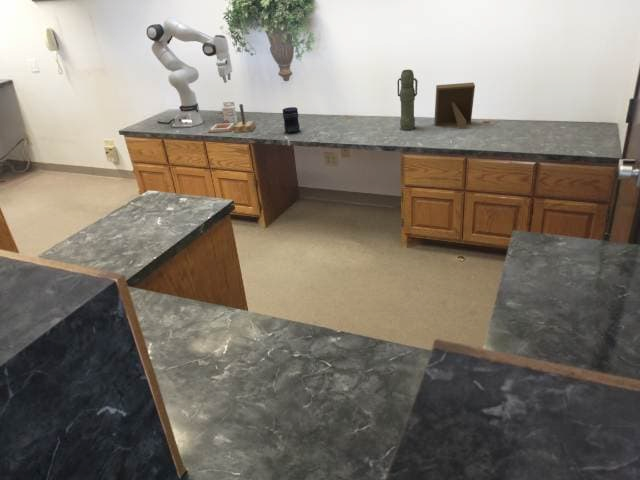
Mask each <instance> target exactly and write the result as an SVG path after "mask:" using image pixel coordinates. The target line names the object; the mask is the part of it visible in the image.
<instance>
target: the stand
mask: <svg viewBox="0 0 640 480" xmlns="http://www.w3.org/2000/svg"><path fill="white" fill-rule="evenodd" d="M239 110H240V117H241V121H237V123H236V124H234V125H235V126H234V127H233V128H234V129H233V133H234V134H235V133H252V132H253V130H254V129H255V128H256V121H255V120H251V121H246V118H245V111H244V105H243V104H242V103H240V104H239Z"/></svg>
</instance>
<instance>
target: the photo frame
mask: <svg viewBox="0 0 640 480" xmlns="http://www.w3.org/2000/svg"><path fill="white" fill-rule="evenodd" d="M475 88H476V84H475V82H462V83H461V82H460V83H448V84H447V83H445V84H436V86H435V103H434V104H435V105H434V119H433V120H434V121H433V123H434V126H435V127H437V126H438V127H439V126H453V125H454V126H455V125H457V127H458V129H467V125H469V124H472V117H473V109H474V107H473V106H474V99H475V90H476V89H475Z"/></svg>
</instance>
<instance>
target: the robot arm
mask: <svg viewBox="0 0 640 480" xmlns="http://www.w3.org/2000/svg"><path fill="white" fill-rule="evenodd" d="M146 36H147V38H148V39H149V40H151V41H152V42H153V43H152V45H151V51H152V53H153V55H154V56H155V57H156V59H157V60H158V61H159V63H161V65H162V66H163V67H164V69H166V70H167V71H170V72H171V73H170V74H169V75H168V82H169V84H170V86H172V87H173V88H175V90H176V92H177V93H178V95H179V100H180V103H181V105H180V106H179V107H178V108H179V112H178V113H176V115H175V116H174V118H173V119H170V120H169V121H168V122H165V121H156V122H157V123H159V124H165V125H169V124H171V123H172V121H173V123H172V124H171V127H172V128H192V127H195V126H200V125H202V124H203V123H204V120H203V119H202V116H201V114H200V113H201V112H200V106H199V103H198V101H197V95H196V92H195V91H194V90H193V89H191V87H190V85H191V84H193V83H195V82H196V81H197V80H198V79H199V76H200V74H199V71H198V69H197V68H195V67H193V66H190V65H189V64H187V63H186V62H184V61H182V60H181V59H180V58H179V57H178V56H177V55H176V54H175V53H174V52H173V51H172V49H171V48H170V47H169V46H168V45H169V44H170V43H171V41H172V39H173V38H175V39H176V40H178V41H180V42H184V43H185V42H186V43H187V42H198V43H201V44H202V48H201V50H202V52H203V54H204V55H205V56H206V57H213V56H216V62H215V65H216V66H217V73H218V76H219V77H220V78H221V79H222V80H223V83H225V84H227V83H228V81H231V78H232V77H231V75H232V74H231V73H233V66H232V61H231V60H232V59H231V55H230V52H229V51H230V50H229V49H230V48H229V43H228V40H227V37H226V36H225V35H222V34H216V35H214V36H213V37H211V36H210V35H207V34H206V33H204V32H201V31H199V30H197V29H195V28H193V27H190V26H189V25H188V24H185V23H183V22H182V21H180V20H177V19H174V18H171V17H169V18H166V19H165V20H164V21H163V24H161V23H155V24H150V25H148V26H147V28H146Z"/></svg>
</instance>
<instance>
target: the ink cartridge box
mask: <svg viewBox="0 0 640 480" xmlns="http://www.w3.org/2000/svg"><path fill="white" fill-rule="evenodd" d="M222 104H223V107H222V108H221V111H222V117H223V122H224V123H223V124H227V123H234V125H236V123H237V122H238V117H237V116H238V115H237V111H236V105H235V102H234V101H224V102H222Z"/></svg>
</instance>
